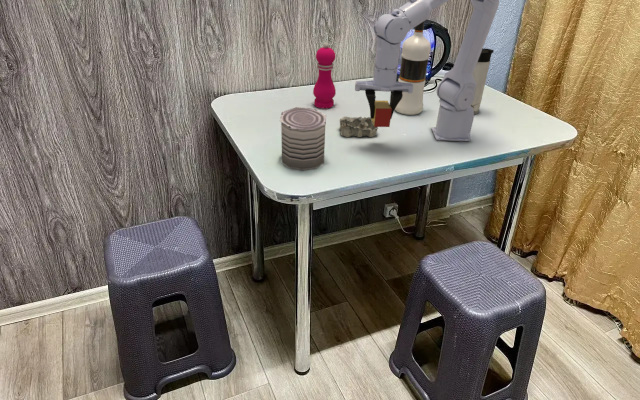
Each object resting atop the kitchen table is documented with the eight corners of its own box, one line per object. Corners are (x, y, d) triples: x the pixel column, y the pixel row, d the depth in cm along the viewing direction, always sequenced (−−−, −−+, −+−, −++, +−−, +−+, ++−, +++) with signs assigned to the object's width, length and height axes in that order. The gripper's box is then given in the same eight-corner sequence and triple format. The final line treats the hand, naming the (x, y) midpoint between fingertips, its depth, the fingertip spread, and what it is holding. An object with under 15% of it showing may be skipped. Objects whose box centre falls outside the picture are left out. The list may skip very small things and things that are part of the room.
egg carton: (340, 137, 133) (340, 124, 131) (338, 126, 139) (339, 113, 137) (377, 138, 133) (379, 124, 131) (374, 127, 140) (375, 114, 138)
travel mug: (475, 116, 149) (489, 52, 138) (455, 111, 152) (468, 48, 141) (482, 110, 153) (497, 48, 142) (463, 105, 156) (476, 44, 145)
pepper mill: (335, 109, 150) (338, 45, 139) (312, 108, 150) (313, 45, 139) (335, 101, 156) (337, 39, 145) (313, 100, 156) (314, 38, 145)
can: (324, 149, 126) (325, 107, 120) (326, 170, 117) (327, 126, 110) (281, 149, 126) (280, 107, 119) (279, 170, 116) (279, 125, 110)
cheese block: (385, 118, 128) (387, 100, 125) (389, 127, 123) (391, 108, 120) (370, 117, 128) (372, 100, 125) (374, 127, 123) (376, 108, 120)
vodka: (391, 114, 148) (404, 13, 132) (394, 103, 156) (406, 7, 140) (421, 117, 147) (437, 16, 131) (422, 106, 155) (438, 9, 138)
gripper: (357, 70, 114) (353, 122, 121) (417, 72, 114) (410, 124, 121) (356, 61, 120) (352, 111, 127) (413, 63, 120) (406, 114, 127)
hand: (380, 117), depth 124 cm, fingers closed on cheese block, 4 cm apart
